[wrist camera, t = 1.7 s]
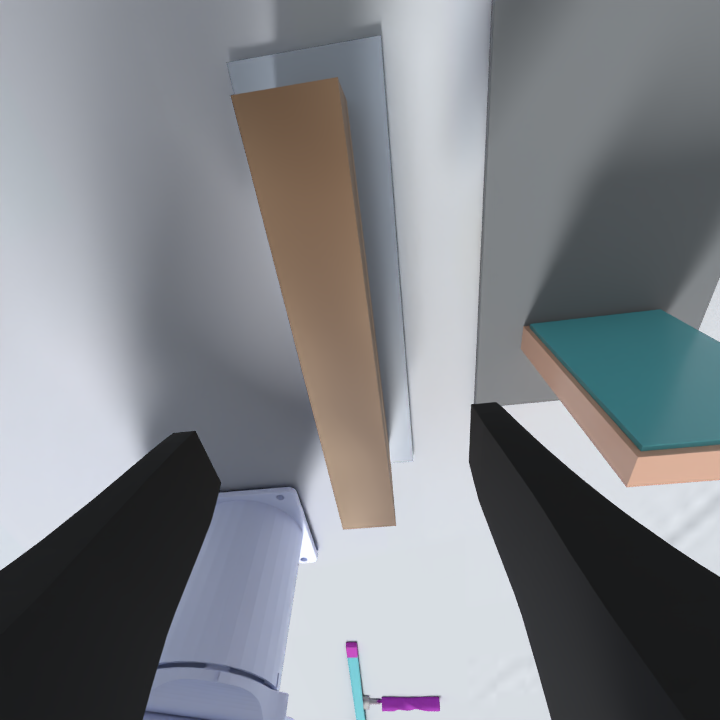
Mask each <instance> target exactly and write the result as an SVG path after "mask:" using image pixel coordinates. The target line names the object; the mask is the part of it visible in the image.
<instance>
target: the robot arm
mask: <svg viewBox="0 0 720 720" xmlns="http://www.w3.org/2000/svg"><path fill="white" fill-rule="evenodd" d="M469 464H470V468H471V472H472V476H473V480H474V484H475V488H476V491H477V495H478V499H479V502H480V505H481V507H482V510H483V513H484V515H485V518H486V521H487V523H488V526H489V529H490V531H491V534H492V536H493V539H494V542H495V544H496V547H497V550H498V552H499V555H500V557H501V560H502V563H503V565H504V568H505V570H506V573H507V576H508V578H509V581H510V583H511V586H512V589H513V591H514V594H515V597H516V600H517V603H518V606H519V609H520V612H521V615H522V618H523V621H524V624H525V628H526V631H527V635H528V638H529V642H530V645H531V649H532V652H533V656H534V659H535V662H536V666H537V669H538V673H539V677H540V680H541V684H542V687H543V691H544V695H545V698H546V702H547V705H548V709H549V713H550V716H551V720H720V577H719V576H718V575H716V574H714V573H713V572H711V571H710V570H708V569H706V568H705V567H703V566H702V565H700V564H698V563H697V562H695V561H694V560H692V559H691V558H689V557H688V556H686V555H685V554H683V553H682V552H680V551H679V550H677V549H676V548H674V547H673V546H671V545H670V544H668V543H667V542H666V541H664V540H663V539H661V538H660V537H658V536H657V535H656V534H654V533H653V532H651V531H650V530H648V529H647V528H646V527H644V526H643V525H641V524H640V523H638V522H637V521H636V520H634V519H633V518H631V517H630V516H629V515H627V514H626V513H625V512H623V511H622V510H621V509H619V508H618V507H617V506H615V505H614V504H613V503H612V502H610V501H609V500H608V499H606V498H605V497H604V496H603V495H601V494H600V493H599V492H598V491H596V490H595V489H594V488H592V487H591V486H590V485H589V484H587V483H586V482H585V481H584V480H583V479H581V478H580V477H579V476H578V475H577V474H575V473H574V472H573V471H572V470H571V469H569V468H568V467H567V466H566V465H565V464H564V463H562V462H561V461H560V460H559V459H558V458H557V457H556V456H554V455H553V454H552V453H551V452H550V451H549V450H547V449H546V448H545V447H544V446H543V445H542V444H541V443H540V442H539V441H538V440H536V439H535V438H534V437H533V436H532V435H531V434H530V433H529V432H528V431H527V430H526V429H525V428H524V427H522V426H521V425H520V424H519V423H518V422H517V421H516V420H515V419H514V418H513V417H512V416H511V415H510V414H509V413H508V412H507V411H506V410H505V409H504V408H503V407H502V406H500V405H499V404H498V403H497V402H490V403H480V404H471V423H470V448H469ZM220 486H221V482H220V480H219V478H218V476H217V474H216V472H215V470H214V468H213V466H212V463H211V461H210V459H209V457H208V455H207V453H206V451H205V449H204V447H203V445H202V443H201V441H200V439H199V437H198V435H197V433H196V431H190V432H180V433H173V434H172V435H170V436H169V437H168V438H166V439H165V440H164V441H162V442H161V443H160V444H159V445H157V446H156V447H155V448H154V449H152V450H151V451H150V452H149V453H148V454H146V455H145V456H144V457H143V458H142V459H140V460H139V461H138V462H137V463H136V464H135V465H133V466H132V467H131V468H130V469H129V470H128V471H126V472H125V473H124V474H123V475H122V476H120V477H119V478H118V479H117V480H116V481H114V482H113V483H112V484H111V485H110V486H108V487H107V488H106V489H105V490H104V491H103V492H101V493H100V494H99V495H98V496H97V497H95V498H94V499H93V500H92V501H91V502H89V503H88V504H87V505H86V506H84V507H83V508H82V509H80V510H79V511H78V512H77V513H75V514H74V515H73V516H72V517H70V518H69V519H68V520H67V521H65V522H64V523H63V524H62V525H60V526H59V527H58V528H57V529H55V530H54V531H53V532H52V533H50V534H49V535H48V536H47V537H45V538H44V539H43V540H41V541H40V542H39V543H37V544H36V545H35V546H33V547H32V548H31V549H29V550H28V551H27V552H25V553H24V554H23V555H21V556H20V557H19V558H17V559H16V560H15V561H13V562H12V563H10V564H9V565H7V566H6V567H5V568H3V569H2V570H0V720H294V719H293V718H291V717H287V716H286V710H287V703H288V694H287V693H284V692H279V689H280V682H281V676H282V669H283V663H284V656H285V650H286V643H287V637H288V630H289V624H290V617H291V611H292V604H293V598H294V591H295V585H296V578H297V572H298V565H299V563H311V562H315V561H317V558H318V553H317V550H316V547H315V544H314V541H313V538H312V535H311V532H310V529H309V527H308V524H307V521H306V518H305V515H304V512H303V509H302V506H301V503H300V500H299V497H298V494H297V491H296V490H295V489H294V488H291V487H282V488H270V489H257V490H245V491H233V492H221V493H219V490H220Z"/></svg>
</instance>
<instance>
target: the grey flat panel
mask: <svg viewBox="0 0 720 720" xmlns="http://www.w3.org/2000/svg"><path fill="white" fill-rule="evenodd" d="M226 63H227V67H228V71H229V75H230V79H231V83H232V87H233V91H234V95H235V94H241V93H247V92H253V91H259V90H265V89H270V88H276V87H282V86H288V85H294V84H300V83H306V82H312V81H317V80H323V79H329V78H335V77H338V79H339V82H340V85H341V87H342V90H343V92H344V95H345V97H346V100H347V107H348V115H349V123H350V131H351V139H352V147H353V155H354V164H355V172H356V180H357V188H358V196H359V204H360V212H361V221H362V229H363V237H364V245H365V253H366V261H367V269H368V277H369V286H370V294H371V302H372V310H373V318H374V326H375V334H376V343H377V351H378V359H379V367H380V375H381V383H382V391H383V399H384V408H385V416H386V424H387V432H388V440H389V450H390V461H391V463H400V462H412V461H413V449H412V436H411V423H410V410H409V397H408V384H407V371H406V358H405V345H404V332H403V319H402V306H401V293H400V280H399V267H398V254H397V241H396V228H395V215H394V202H393V189H392V175H391V162H390V149H389V136H388V123H387V110H386V97H385V84H384V71H383V58H382V45H381V35H379V36H373V37H367V38H362V39H356V40H351V41H345V42H339V43H334V44H328V45H322V46H317V47H311V48H305V49H300V50H294V51H288V52H283V53H277V54H272V55H266V56H260V57H255V58H249V59H243V60H238V61H232V62H226Z"/></svg>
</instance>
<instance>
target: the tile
mask: <svg viewBox="0 0 720 720" xmlns="http://www.w3.org/2000/svg"><path fill="white" fill-rule="evenodd" d="M521 350H522V351H523V353H524V354H525V355H526V356H527V358H528V359H529V360H530V362H531V363H532V364H533V366H534V367H535V368H536V370H537V371H538V372H539V373H540V375H541V376H542V377H543V379H544V380H545V381H546V383H547V384H548V385H549V386H550V388H551V389H552V390H553V392H554V393H555V394H556V396H557V397H558V398H559V400H560V401H561V402H562V403H563V405H564V406H565V407H566V409H567V410H568V411H569V413H570V414H571V415H572V417H573V418H574V419H575V420H576V422H577V423H578V424H579V426H580V427H581V428H582V430H583V431H584V432H585V434H586V435H587V436H588V437H589V439H590V440H591V441H592V443H593V444H594V445H595V447H596V448H597V449H598V450H599V452H600V453H601V454H602V456H603V457H604V458H605V460H606V461H607V462H608V464H609V465H610V466H611V467H612V469H613V470H614V471H615V473H616V474H617V475H618V477H619V478H620V479H621V481H622V482H623V483H624V484H625V486H626V487H634V486H647V485H660V484H673V483H686V482H699V481H712V480H720V342H718V341H717V340H715V339H713V338H711V337H709V336H708V335H706V334H704V333H702V332H700V331H699V330H697V329H695V328H693V327H691V326H690V325H688V324H686V323H684V322H682V321H681V320H679V319H677V318H675V317H674V316H672V315H670V314H668V313H666V312H665V311H663V310H661V309H658V310H649V311H640V312H632V313H623V314H614V315H605V316H596V317H587V318H578V319H569V320H560V321H551V322H543V323H534V324H530V326H523V334H522V342H521Z"/></svg>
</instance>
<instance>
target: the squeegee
mask: <svg viewBox="0 0 720 720" xmlns="http://www.w3.org/2000/svg"><path fill="white" fill-rule="evenodd" d="M346 651H347V658H348V665H349V672H350V679H351V686H352V693H353V699H354V706H355V713H356V720H366V718H365V715H364V714H365V710H369V704H380V703H382V711H395V710H407V711H408V710H413V709H419V710H424V711H440V702H439V697H413V698H405V697H382V700H380V699H378V701H377V699H369V696H362V688H361V679H360V670H359V661H358V650H357V642H347V643H346ZM377 702H378V703H377ZM364 709H365V710H364Z"/></svg>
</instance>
